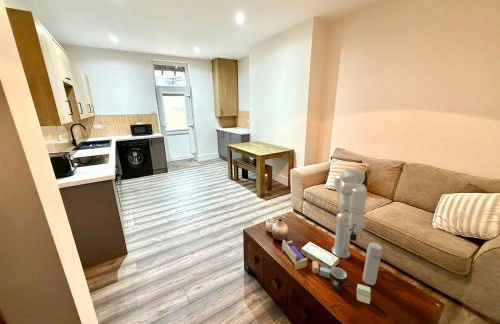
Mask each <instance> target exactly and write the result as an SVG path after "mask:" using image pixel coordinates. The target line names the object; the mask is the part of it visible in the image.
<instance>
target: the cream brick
mask: <svg viewBox="0 0 500 324" xmlns="http://www.w3.org/2000/svg"><path fill="white" fill-rule="evenodd" d="M371 299H372V298H371V297H370V298H368V297H365V296H361V295H358V294H357V293H356V301H359V302H361V303H364V304H368V305H370V303H371Z"/></svg>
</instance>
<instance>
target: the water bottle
mask: <svg viewBox="0 0 500 324" xmlns="http://www.w3.org/2000/svg"><path fill="white" fill-rule="evenodd" d="M382 253H383V247H382V246H381V244H379V243H376V242H370V243H368V246H367V249H366V256H365V261H364V262H365V263H364V269H363V273H362V281H363V282H364V284H366V285H368V286H369V285H370V286H374V285H376V284H377V283H376V282H377V279H378V273H379V267H380V265H381V264H380V263H381V258H382V257H383V254H382Z"/></svg>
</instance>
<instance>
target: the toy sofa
mask: <svg viewBox="0 0 500 324" xmlns="http://www.w3.org/2000/svg"><path fill="white" fill-rule="evenodd" d="M281 251H282V252H285V253H286V254H287V257H289V259H290V260H291V261H292V263H293V264H294V267H295V268H294V269H295V270H299V269H304V268H307V266H308V261H309V260H308V257H304V256H303V255H302V254H301V253H300V251H298V249H297V248H296V247H295V245H294V244H293V240H290V241H287V240H285V239H282V243H281Z"/></svg>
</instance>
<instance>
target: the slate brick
mask: <svg viewBox="0 0 500 324" xmlns="http://www.w3.org/2000/svg"><path fill="white" fill-rule="evenodd" d="M318 274H319V276H321V277H323V278H328V279H330V278H331V268H330V269H329V268H326V267H324V266H320V267H319V273H318Z"/></svg>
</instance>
